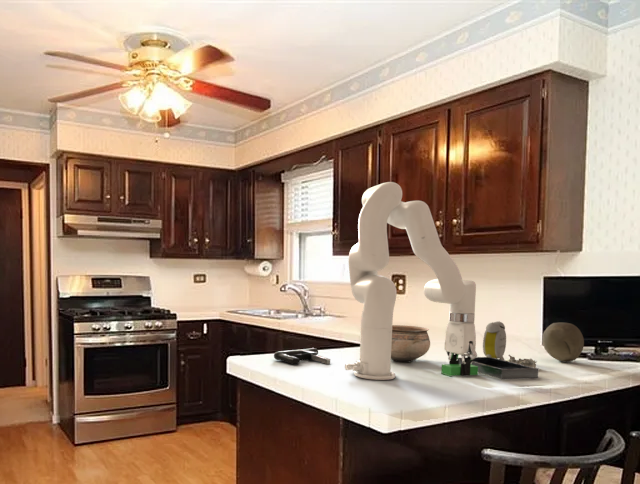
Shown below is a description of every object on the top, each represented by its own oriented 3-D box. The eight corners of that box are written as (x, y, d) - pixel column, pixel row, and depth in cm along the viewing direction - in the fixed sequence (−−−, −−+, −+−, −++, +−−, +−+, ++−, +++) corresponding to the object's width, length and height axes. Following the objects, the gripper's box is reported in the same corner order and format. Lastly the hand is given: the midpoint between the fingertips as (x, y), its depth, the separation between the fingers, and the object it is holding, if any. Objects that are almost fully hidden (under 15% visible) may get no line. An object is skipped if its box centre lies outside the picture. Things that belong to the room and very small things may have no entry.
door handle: (342, 355, 192) (311, 346, 205) (300, 360, 180) (270, 350, 193) (341, 364, 192) (310, 355, 205) (299, 370, 181) (269, 359, 194)
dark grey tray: (501, 380, 167) (502, 369, 167) (457, 367, 188) (457, 357, 188) (537, 379, 170) (538, 368, 170) (490, 366, 191) (490, 356, 191)
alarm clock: (491, 358, 208) (493, 320, 207) (510, 361, 204) (512, 321, 203) (481, 362, 199) (483, 322, 198) (500, 365, 195) (503, 323, 194)
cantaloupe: (589, 362, 205) (592, 323, 204) (572, 365, 197) (575, 325, 196) (551, 357, 216) (553, 320, 215) (533, 359, 208) (535, 321, 207)
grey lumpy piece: (506, 365, 195) (507, 354, 195) (529, 366, 193) (530, 355, 193) (513, 370, 185) (514, 358, 184) (537, 372, 183) (538, 360, 182)
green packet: (450, 377, 171) (451, 367, 170) (441, 374, 175) (441, 364, 175) (477, 376, 173) (478, 366, 173) (467, 373, 178) (467, 363, 178)
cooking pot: (400, 354, 215) (401, 323, 214) (443, 361, 200) (445, 328, 199) (360, 359, 199) (361, 326, 198) (405, 368, 184) (406, 332, 183)
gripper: (435, 316, 180) (433, 369, 182) (469, 321, 164) (466, 380, 165) (454, 315, 182) (452, 368, 183) (490, 321, 166) (487, 379, 167)
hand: (459, 373), depth 174 cm, fingers closed on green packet, 5 cm apart
